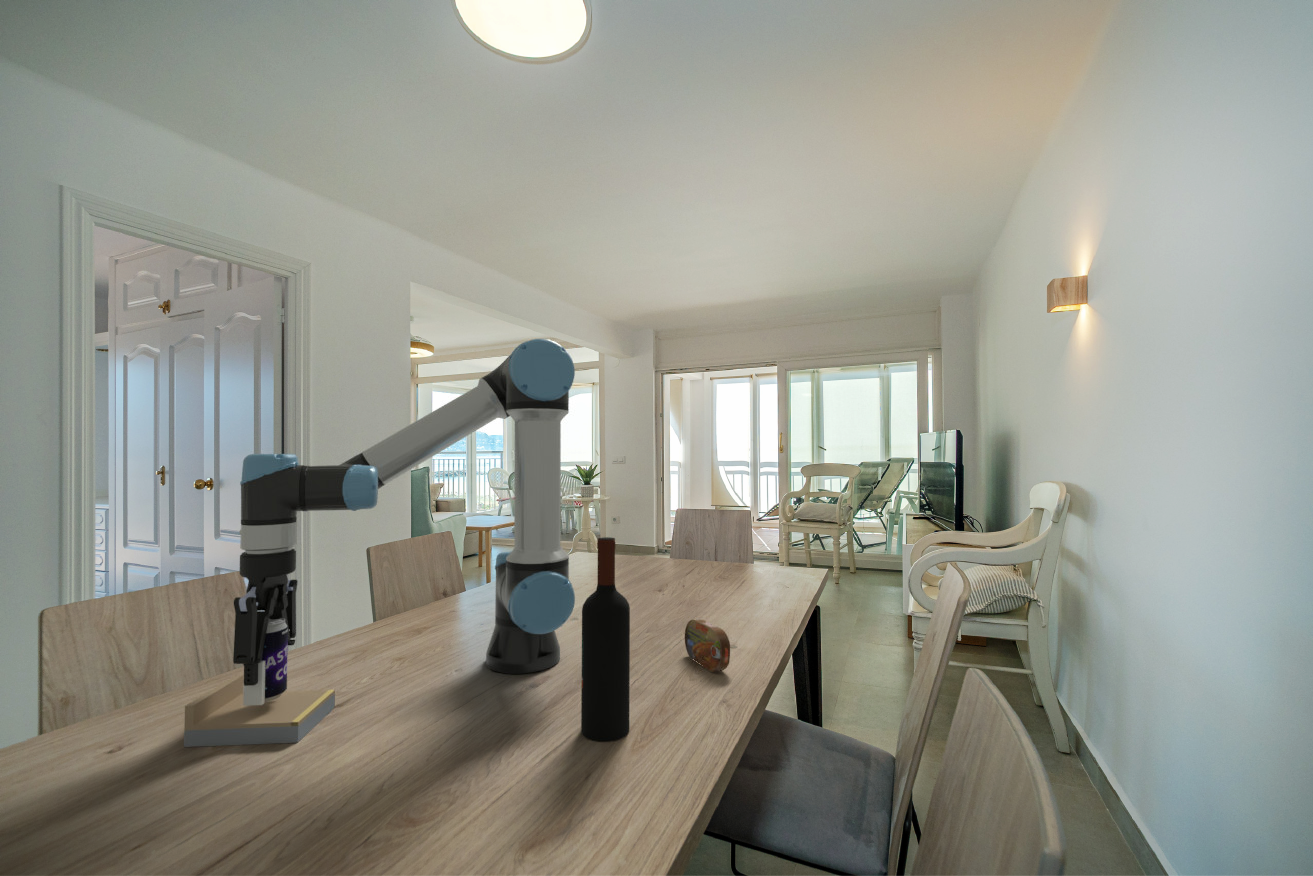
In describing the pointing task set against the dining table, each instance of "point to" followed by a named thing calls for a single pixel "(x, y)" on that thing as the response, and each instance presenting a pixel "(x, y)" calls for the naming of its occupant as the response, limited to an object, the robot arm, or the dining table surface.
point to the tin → (707, 645)
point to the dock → (253, 716)
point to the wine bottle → (605, 654)
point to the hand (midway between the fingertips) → (265, 695)
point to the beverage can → (275, 658)
